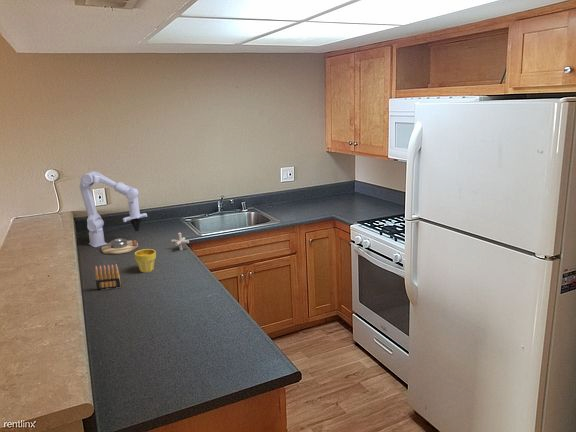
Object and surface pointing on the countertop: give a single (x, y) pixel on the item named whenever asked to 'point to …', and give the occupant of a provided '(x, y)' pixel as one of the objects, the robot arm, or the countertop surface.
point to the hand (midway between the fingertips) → (136, 230)
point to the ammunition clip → (107, 277)
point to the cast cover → (118, 243)
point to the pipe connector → (180, 241)
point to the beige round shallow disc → (130, 247)
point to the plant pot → (145, 259)
